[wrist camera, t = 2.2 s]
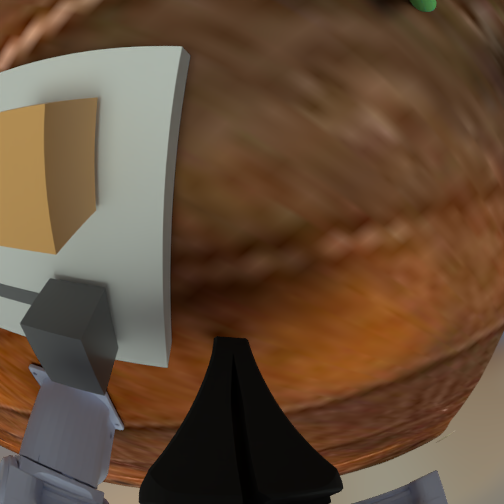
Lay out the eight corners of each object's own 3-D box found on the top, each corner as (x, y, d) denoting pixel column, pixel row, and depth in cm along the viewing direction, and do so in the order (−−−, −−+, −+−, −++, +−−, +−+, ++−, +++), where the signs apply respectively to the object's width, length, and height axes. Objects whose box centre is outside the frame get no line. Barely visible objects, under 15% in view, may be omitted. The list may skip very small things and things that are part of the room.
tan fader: (96, 210, 9) (56, 254, 6) (35, 206, 8) (-10, 244, 6) (97, 97, 7) (45, 103, 4) (30, 105, 6) (-26, 119, 4)
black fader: (118, 347, 13) (104, 395, 10) (69, 337, 12) (51, 380, 10) (105, 287, 11) (81, 340, 8) (49, 278, 10) (19, 323, 8)
